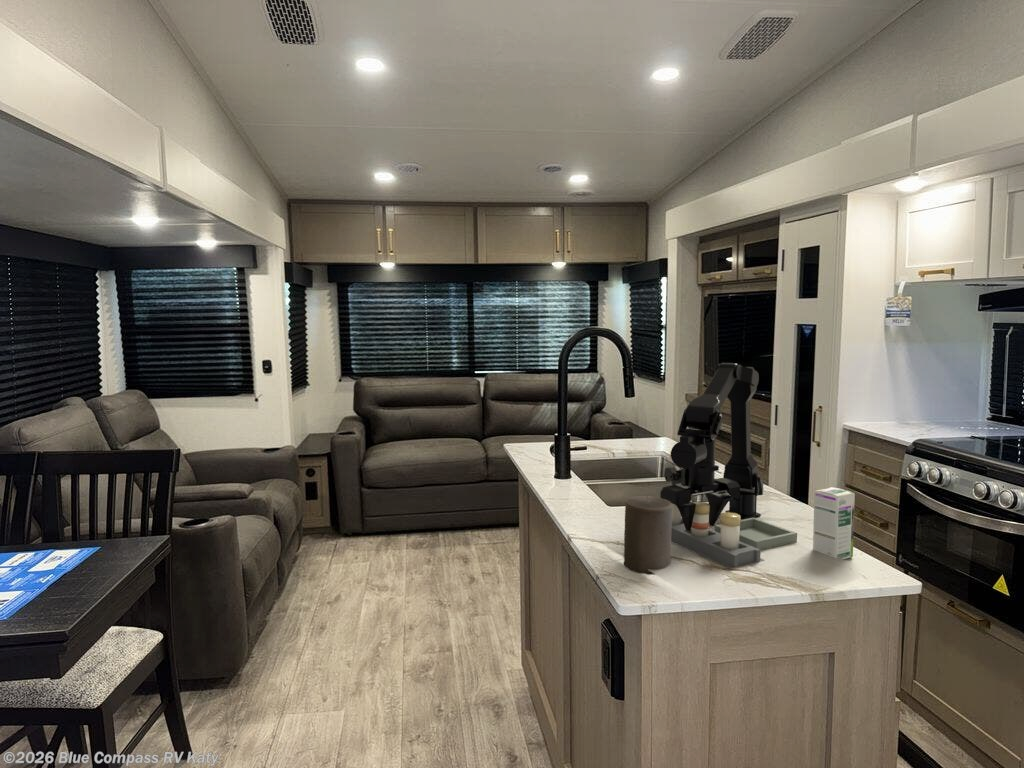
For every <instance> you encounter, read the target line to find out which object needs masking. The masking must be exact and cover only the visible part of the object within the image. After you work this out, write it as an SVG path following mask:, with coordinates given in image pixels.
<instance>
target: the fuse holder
mask: <svg viewBox="0 0 1024 768" xmlns="http://www.w3.org/2000/svg"><path fill="white" fill-rule="evenodd" d="M720 535H721V533H718V532H716V531H715V530H713V529H710V528H709V536H705V537H700V538H699V537H696V536H694V535H692V534H691V530H690V531H688V530H686V529H685V526H684V523H683V520H682V517H681V524H679V525H674V526H672V530H671V543H673V544H675V545H678V547H679V546H680V547H682V548H683V549H686V550H688V551H690V552H692V553H695V554H697V555H699V556H701V557H704V558H705V559H708V560H709V561H712V562H714V563H715V564H718V565H720V566H722V567H724V568H727V569H729V570H731V569H735V568H740V567H743V566H747V565H751V564H756V563H760V562H764V561H765V559H763V558H761V550H760V549H757V548H755V547H753V546H750V545H748V544H745V543H743V542H740V541H739V549H736V550H732V551H729V550H726V549H724V548H722V547H720Z"/></svg>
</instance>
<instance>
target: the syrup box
mask: <svg viewBox="0 0 1024 768" xmlns="http://www.w3.org/2000/svg"><path fill="white" fill-rule="evenodd" d="M813 493H814V494H813V495H814V496H813V498H814V499H813V530H812V533H813V536H812V538H813V539H812V542H813V543H812V550H813V551H815V552H818V553H821V554H824V555H827V556H828V557H831V558H834V559H837V558H839V559H841V560H847V559H850V558H851V559H852V558H853V557H854V532H855V531H854V529H855V526H854V525H855V497H856V496H855V494H856V493H855V492H853V491H850V490H847V489H843V488H839V487H834V486H831V487H828V488H824V489H817V490H814V491H813Z"/></svg>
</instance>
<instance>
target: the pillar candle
mask: <svg viewBox="0 0 1024 768" xmlns="http://www.w3.org/2000/svg"><path fill="white" fill-rule="evenodd" d="M672 506H673V504H672V503H671V502H670V501H668V500H666V499H662V498H660V497H656V496H653V495H638V496H631V497H630V496H629V497H628V498H626V500H625V508H624V509H625V510H624V532H623V533H624V535H623V542H624V543H623V547H624V549H623V551H624V552H623V565H624V567H625V568H627V569H628V570H630V571H631V572H634V573H639V574H644V575H645V574H646V575H655V572H653V571H658V570H663V569H665V568H668V567H670V565H671V560H672V559H671V556H672V555H671V554H672V553H671V552H672V542H671V530H672Z"/></svg>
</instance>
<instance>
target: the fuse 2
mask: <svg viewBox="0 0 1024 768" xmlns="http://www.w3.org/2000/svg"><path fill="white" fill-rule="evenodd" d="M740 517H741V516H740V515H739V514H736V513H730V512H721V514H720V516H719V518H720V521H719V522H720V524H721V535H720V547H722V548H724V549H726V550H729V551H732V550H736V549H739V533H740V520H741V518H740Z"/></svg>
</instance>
